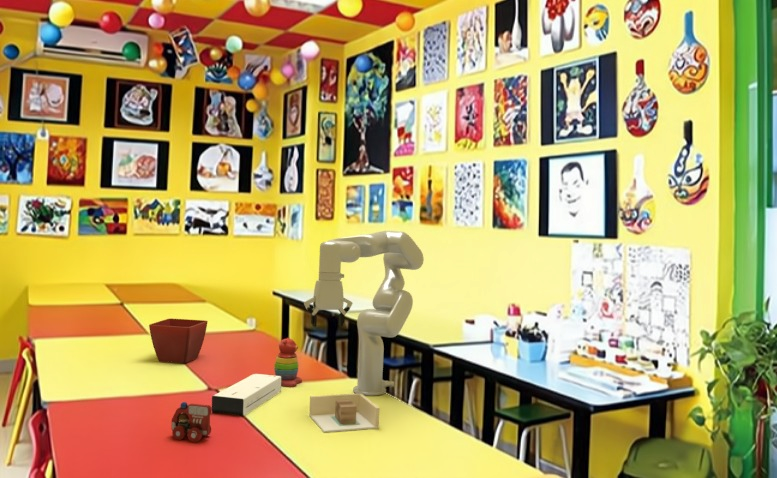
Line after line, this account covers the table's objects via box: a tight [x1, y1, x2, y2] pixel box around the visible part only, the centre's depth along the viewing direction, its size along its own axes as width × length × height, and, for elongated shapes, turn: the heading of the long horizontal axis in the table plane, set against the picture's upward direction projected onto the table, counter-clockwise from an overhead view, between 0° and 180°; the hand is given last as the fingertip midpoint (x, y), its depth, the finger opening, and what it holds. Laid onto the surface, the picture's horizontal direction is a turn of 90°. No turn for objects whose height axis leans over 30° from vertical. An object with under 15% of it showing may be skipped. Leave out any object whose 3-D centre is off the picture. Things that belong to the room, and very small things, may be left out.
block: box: [335, 400, 356, 424], centre depth 219 cm, size 8×5×6 cm, turn 18°
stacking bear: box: [273, 337, 303, 388], centre depth 266 cm, size 11×10×18 cm
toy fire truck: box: [171, 401, 212, 443], centre depth 199 cm, size 7×12×10 cm, turn 74°
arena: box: [309, 393, 380, 434], centre depth 220 cm, size 18×18×7 cm
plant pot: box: [148, 318, 208, 364], centre depth 299 cm, size 19×19×17 cm
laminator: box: [211, 373, 282, 417], centre depth 239 cm, size 34×12×6 cm, turn 168°
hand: (327, 325), depth 236 cm, fingers open, 9 cm apart
